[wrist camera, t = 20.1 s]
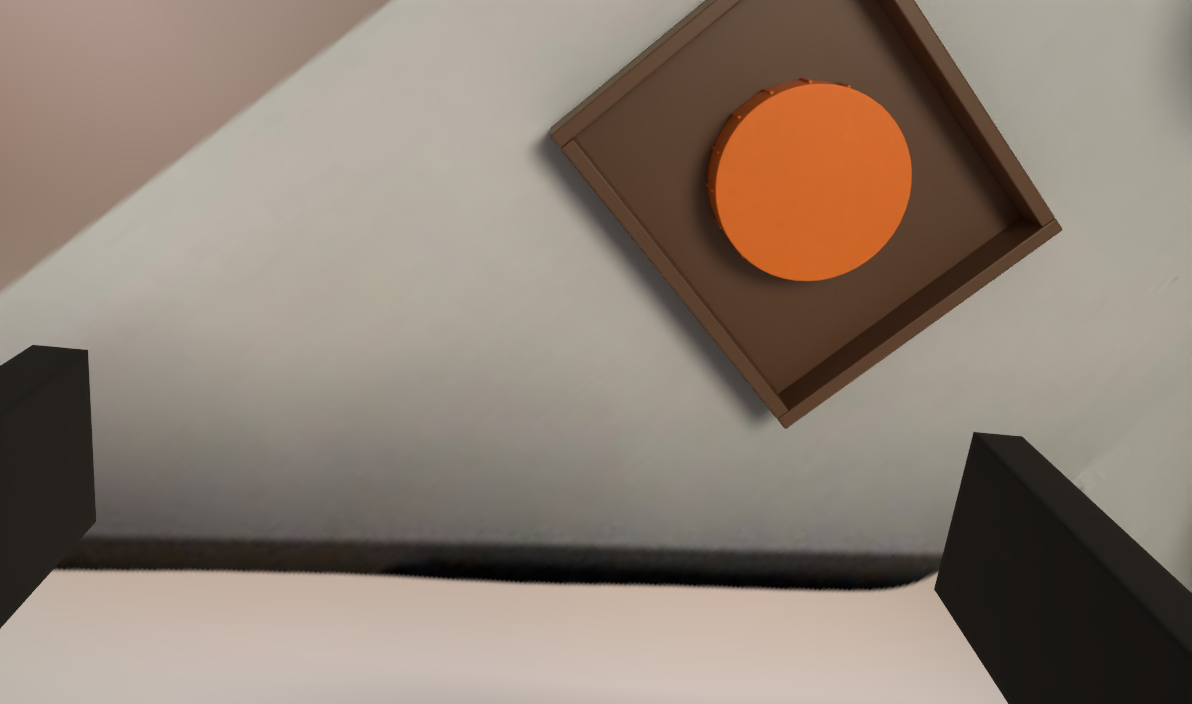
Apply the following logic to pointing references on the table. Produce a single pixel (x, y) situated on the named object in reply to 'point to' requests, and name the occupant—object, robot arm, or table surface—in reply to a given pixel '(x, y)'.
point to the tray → (709, 260)
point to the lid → (809, 179)
